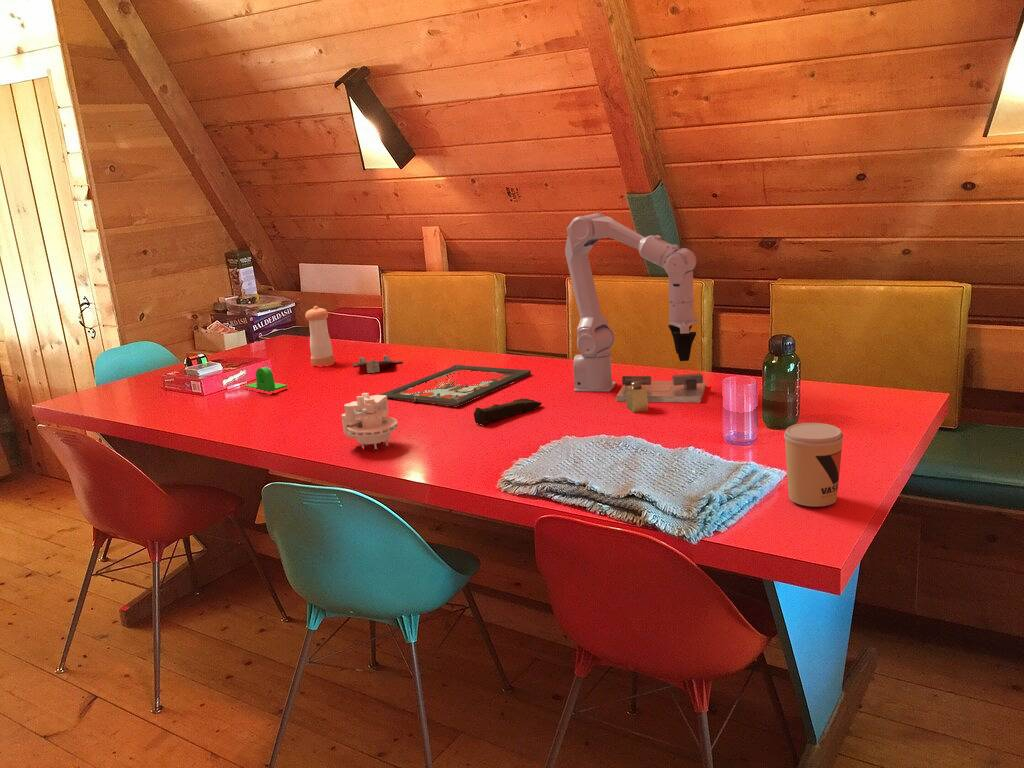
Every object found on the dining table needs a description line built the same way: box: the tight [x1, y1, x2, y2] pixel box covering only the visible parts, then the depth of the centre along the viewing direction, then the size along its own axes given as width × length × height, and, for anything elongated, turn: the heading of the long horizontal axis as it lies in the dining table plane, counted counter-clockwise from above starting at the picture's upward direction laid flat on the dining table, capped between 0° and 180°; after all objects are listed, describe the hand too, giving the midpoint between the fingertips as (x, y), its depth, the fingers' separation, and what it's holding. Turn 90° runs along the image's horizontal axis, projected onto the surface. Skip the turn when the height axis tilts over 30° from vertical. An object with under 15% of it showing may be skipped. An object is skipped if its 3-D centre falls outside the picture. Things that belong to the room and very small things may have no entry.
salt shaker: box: [304, 305, 336, 366], centre depth 275 cm, size 7×7×19 cm
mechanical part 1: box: [244, 366, 288, 392], centre depth 251 cm, size 12×6×8 cm, turn 49°
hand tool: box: [473, 398, 543, 426], centre depth 210 cm, size 19×4×5 cm
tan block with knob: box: [626, 381, 649, 414], centre depth 207 cm, size 4×4×7 cm
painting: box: [378, 364, 532, 407], centre depth 240 cm, size 28×35×2 cm
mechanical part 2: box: [341, 392, 399, 450], centre depth 194 cm, size 11×12×12 cm
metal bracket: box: [352, 354, 403, 374], centre depth 267 cm, size 14×6×15 cm
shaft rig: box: [615, 372, 707, 404], centre depth 218 cm, size 20×14×5 cm
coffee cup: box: [783, 422, 844, 508], centre depth 149 cm, size 9×9×12 cm
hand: (682, 357), depth 213 cm, fingers open, 7 cm apart
